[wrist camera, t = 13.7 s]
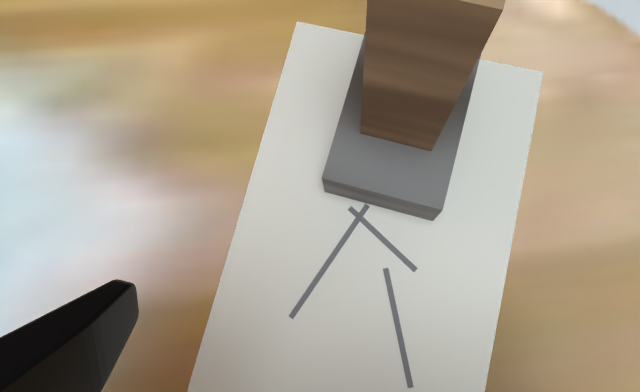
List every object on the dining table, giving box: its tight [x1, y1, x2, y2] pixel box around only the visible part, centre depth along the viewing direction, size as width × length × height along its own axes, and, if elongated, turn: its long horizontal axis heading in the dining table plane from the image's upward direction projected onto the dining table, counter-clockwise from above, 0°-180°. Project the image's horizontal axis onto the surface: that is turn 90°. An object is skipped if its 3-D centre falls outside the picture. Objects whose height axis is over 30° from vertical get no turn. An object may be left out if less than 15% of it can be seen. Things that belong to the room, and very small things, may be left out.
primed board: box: [187, 22, 543, 392], centre depth 23 cm, size 22×12×2 cm, turn 165°
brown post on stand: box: [322, 0, 505, 221], centre depth 18 cm, size 8×5×12 cm, turn 164°
